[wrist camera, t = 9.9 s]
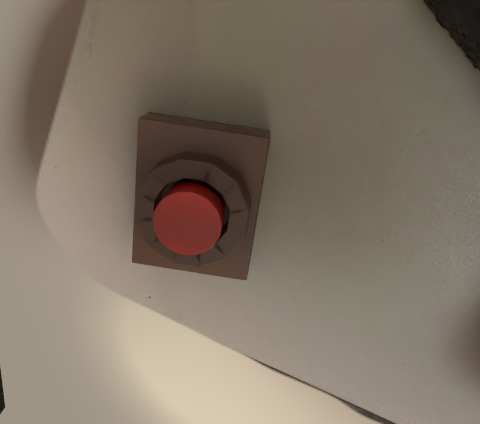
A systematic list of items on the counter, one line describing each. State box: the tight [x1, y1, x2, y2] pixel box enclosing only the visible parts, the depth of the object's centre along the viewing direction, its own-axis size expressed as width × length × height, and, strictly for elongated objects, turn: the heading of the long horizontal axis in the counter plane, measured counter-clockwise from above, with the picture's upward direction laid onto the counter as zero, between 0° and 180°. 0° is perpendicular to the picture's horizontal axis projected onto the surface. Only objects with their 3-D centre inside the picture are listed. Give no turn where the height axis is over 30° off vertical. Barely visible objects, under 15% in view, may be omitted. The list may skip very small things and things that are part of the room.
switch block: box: [132, 113, 270, 280], centre depth 28 cm, size 10×8×4 cm
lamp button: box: [153, 182, 225, 255], centre depth 26 cm, size 4×4×2 cm
